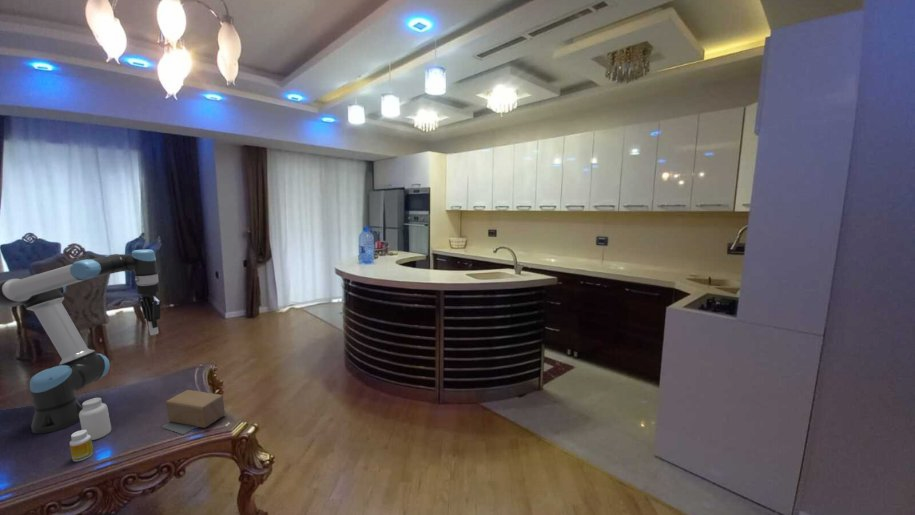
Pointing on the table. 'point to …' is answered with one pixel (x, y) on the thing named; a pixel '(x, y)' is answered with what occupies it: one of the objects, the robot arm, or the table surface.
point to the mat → (178, 427)
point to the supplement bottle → (81, 445)
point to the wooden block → (195, 408)
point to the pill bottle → (95, 418)
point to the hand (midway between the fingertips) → (154, 334)
